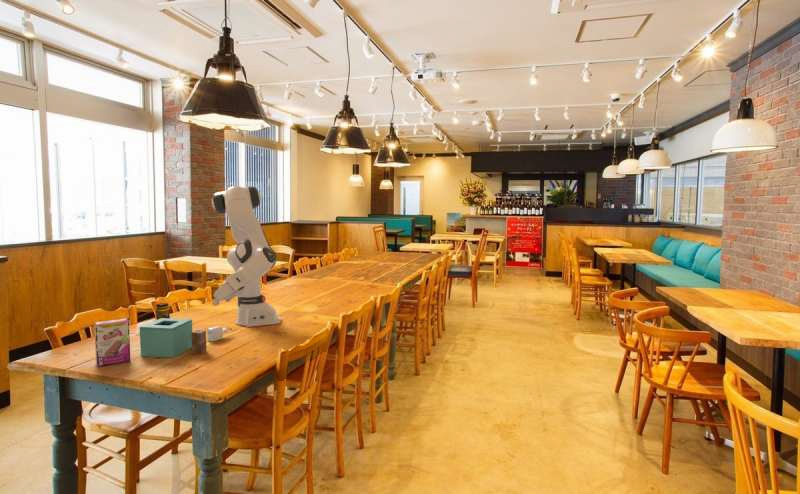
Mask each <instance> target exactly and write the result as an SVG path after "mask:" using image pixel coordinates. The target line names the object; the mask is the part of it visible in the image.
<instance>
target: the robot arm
mask: <svg viewBox="0 0 800 494" xmlns="http://www.w3.org/2000/svg"><path fill="white" fill-rule="evenodd" d="M261 199H262V197H261V193H260V192H259V190H258V188H257V187H256V186H247V187H242V186H239V185H234V186H233V185H232V186H231V187H229V188H227V189H226V190H224V191H218V192H217V191H216V192H215V193H213V195H212V198H211V206H212V208H213V209H214V211H215V213H217V214H219V215H225V214H226V216H227V218H228V223H229V226H230V231H231V232H230V233H231V236H232V239H233V241H234V242H236V243H237V246H236V247H232V248H230V249H229V250H228V252H227V254H226V255H227V256H226V259H227V260H226V261H227V262H228V264H229V265H230V266H231V267H232V269H233V271H234V272H233V273H232V274H230V275H228V276H227V277H226V278H225V281H224V282H223V283H222V284H221V285H220V286H219V287H218V288H217V289H216V290H215V292H214V293H213V297H214V298H215V299H214V301H212V305H213V306H214V307H216V306H218V305H219V304H220V302H222V301H225V302H226V303H227V302H228V303H229V302H230V301H231V300H233V299H234V298H236V297H237V307H238V308H237V309H238V310H237V317H236V321H235V324H236V325H238V326H244V327H248V328H250V327H260V326H261V327H262V326H269V325H278V324H280V323H281V322H282V318H281V316H279V315H278V314H277V311H276V308H275V307H274V306H272V305H271V304H269V303H268V302H266V300H267V298H266V295H264V294H262V281H261V279H260V278H262V277H264V276H265V275H266V274H267V272H269V271H270V270H271V269H273V268H274V266H275V265H276V263H277V253H276V251H275V250H274V249H273V248H272V247H271V246H270V242H269V241H268V237H267V236H266V233H265V230H264V229H263V226H262V224H261V223H260V221H259V219H258V217H257V216H256V213H255V211H254V210H255V209H257V208H258V207H259V206H260V205H261Z"/></svg>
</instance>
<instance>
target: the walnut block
mask: <svg viewBox="0 0 800 494" xmlns="http://www.w3.org/2000/svg"><path fill="white" fill-rule="evenodd" d="M191 335H192V348H191V355H203V354H204V353H206V352H207V330H206V329H205V330H203V329H196V330H194V331H192V333H191Z"/></svg>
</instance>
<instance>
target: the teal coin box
mask: <svg viewBox="0 0 800 494" xmlns="http://www.w3.org/2000/svg"><path fill="white" fill-rule="evenodd" d="M192 332H193V320H192V319H188V318H170V319H169V318H161V319H158V320H156V319H155V320H153V321H151V322H149V323H145V324H143V325H141V326H139V344H140V348H139V349H140V357H153V358H154V357H156V358H157V357H158V358H176V357H177V356H178V355H180V354H182V353H185V352H186V351H187V350H189V349H192V335H191V333H192Z"/></svg>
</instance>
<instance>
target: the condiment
mask: <svg viewBox="0 0 800 494" xmlns="http://www.w3.org/2000/svg"><path fill="white" fill-rule="evenodd" d="M170 313H171V311H170V308H169V302H158V303H156V309H155V317H156V318H155V321H156V320H158V319H161V318H169V319H171V314H170Z"/></svg>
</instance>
